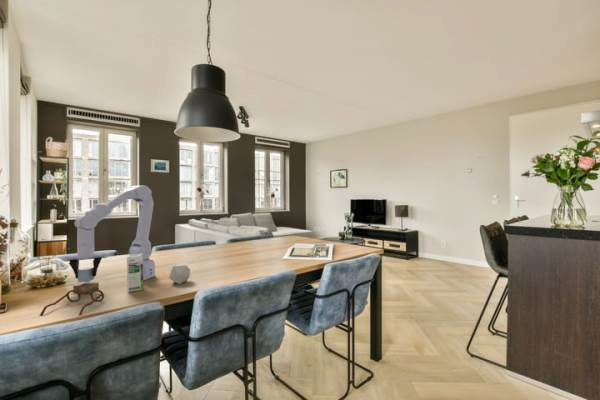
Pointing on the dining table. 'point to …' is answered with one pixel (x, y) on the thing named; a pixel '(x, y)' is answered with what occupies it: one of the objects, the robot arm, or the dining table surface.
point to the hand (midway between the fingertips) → (86, 276)
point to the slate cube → (85, 274)
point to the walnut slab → (86, 287)
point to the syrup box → (134, 272)
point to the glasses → (78, 299)
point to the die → (179, 273)
